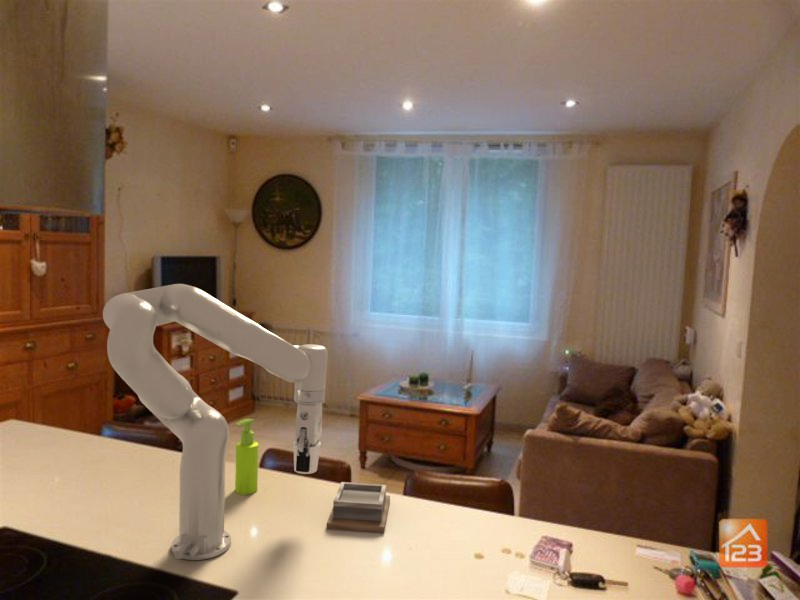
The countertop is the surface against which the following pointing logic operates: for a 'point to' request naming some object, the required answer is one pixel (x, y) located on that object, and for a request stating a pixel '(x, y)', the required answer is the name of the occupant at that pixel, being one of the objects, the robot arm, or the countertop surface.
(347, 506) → the stand
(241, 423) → the soap dispenser
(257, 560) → the countertop surface
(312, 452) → the white cup
